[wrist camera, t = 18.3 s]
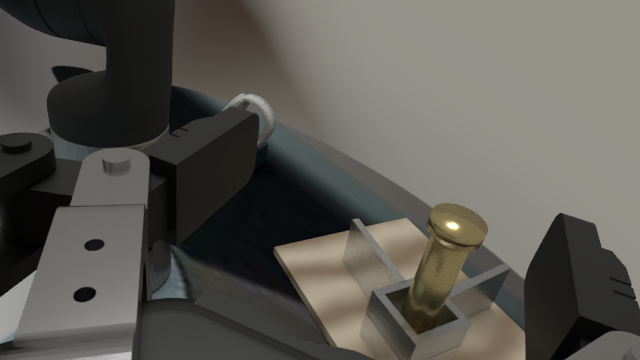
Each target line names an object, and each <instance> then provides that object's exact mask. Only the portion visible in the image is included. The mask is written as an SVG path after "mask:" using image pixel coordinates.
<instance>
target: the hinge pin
mask: <svg viewBox="0 0 640 360" xmlns="http://www.w3.org/2000/svg"><path fill="white" fill-rule="evenodd" d="M427 229H428V231H429V233H430V234H431V235H430V238H429V241H428V243H427V246H426V248H425V251H424V253H423V256H422V259H421V261H420V264H419V266H418V269H417V271H416V274H415V276H414V279H413V282H412V284H411V287H410V289H409V292H408V294H407V297H406V299H405V302H404V305H403V307H402V310H401V312H400V314H401V315H402V316H403V318H404V319H405V320H406V321H407V323H408V324H409V325H410V326H411V328H412V329H413V330H414V331H415V332H416V334H417V335H419V334H422V333H424V332H427V331H429V330H432V329H434V327H435V324H436V322H437V320H438V318H439V316H440V314H441V312H442V309H443V307H444V305H445V303H446V301H447V299H448V296H449V294H450V292H451V290H452V288H453V286H454V283H455V281H456V279H457V277H458V275H459V273H460V270H461V268H462V266H463V264H464V262H465V260H466V258H467V255H468V253H469V251H474V250H477V249H478V248H480V246H481V245H482V243H483V241H484V238H485V236H486V234H487V232H488V228H487V224H486V223H485V221H484V220H483V219H482V218H481V217H480V216H479V215H478V214H476V213H475V212H474V211H472V210H470V209H468V208H466V207H463V206H460V205H456V204H449V203H444V204H439V205H436V206H435V207H434V208H433V209H432V211H431V214H430V217H429V219H428V222H427Z"/></svg>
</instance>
